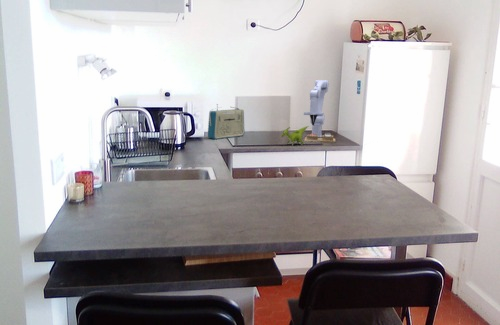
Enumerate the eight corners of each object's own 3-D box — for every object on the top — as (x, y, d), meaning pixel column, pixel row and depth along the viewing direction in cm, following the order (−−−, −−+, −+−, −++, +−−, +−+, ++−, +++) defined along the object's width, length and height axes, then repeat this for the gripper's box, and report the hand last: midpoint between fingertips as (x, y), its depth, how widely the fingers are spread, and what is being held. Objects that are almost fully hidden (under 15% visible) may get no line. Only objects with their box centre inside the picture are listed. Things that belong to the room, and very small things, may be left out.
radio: (213, 139, 344) (213, 105, 339) (207, 138, 350) (207, 104, 345) (245, 136, 364) (245, 103, 358) (238, 134, 369) (239, 102, 364)
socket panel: (305, 138, 359) (305, 133, 358) (335, 139, 355) (335, 135, 355) (304, 141, 347) (304, 136, 347) (335, 142, 344) (335, 137, 343)
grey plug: (324, 137, 353) (324, 132, 352) (330, 138, 352) (331, 133, 351) (324, 138, 348) (324, 133, 347) (330, 139, 348) (331, 133, 347)
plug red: (309, 138, 355) (309, 133, 354) (315, 139, 354) (315, 133, 353) (309, 139, 350) (309, 134, 349) (315, 140, 350) (315, 134, 349)
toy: (285, 150, 337) (277, 132, 331) (309, 134, 342) (301, 116, 336) (291, 152, 329) (282, 134, 323) (315, 135, 335) (307, 117, 329)
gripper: (303, 106, 349) (302, 125, 351) (324, 107, 347) (322, 126, 349) (304, 105, 356) (303, 124, 358) (324, 106, 353) (323, 125, 356)
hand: (313, 125), depth 354 cm, fingers closed
